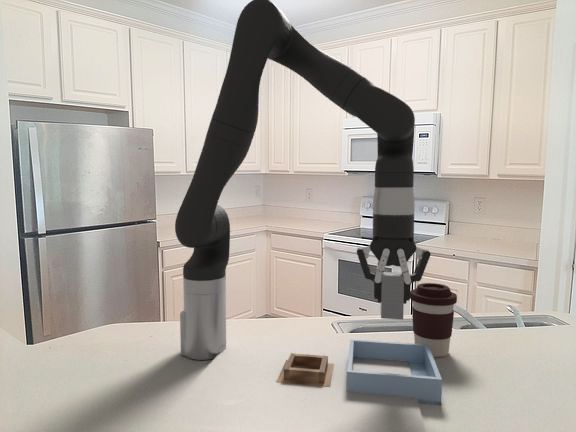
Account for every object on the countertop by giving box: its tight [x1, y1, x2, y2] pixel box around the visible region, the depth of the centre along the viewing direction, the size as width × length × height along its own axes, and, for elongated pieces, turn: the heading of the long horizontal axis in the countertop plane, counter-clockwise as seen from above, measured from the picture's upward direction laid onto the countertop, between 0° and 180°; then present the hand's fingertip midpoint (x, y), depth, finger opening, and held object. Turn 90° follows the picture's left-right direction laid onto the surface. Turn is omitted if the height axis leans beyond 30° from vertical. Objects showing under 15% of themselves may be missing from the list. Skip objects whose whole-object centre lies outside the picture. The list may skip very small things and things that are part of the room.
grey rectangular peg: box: [379, 271, 405, 321], centre depth 79 cm, size 4×4×8 cm
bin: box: [346, 338, 443, 406], centre depth 80 cm, size 16×16×4 cm
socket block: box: [275, 352, 335, 388], centre depth 81 cm, size 10×10×3 cm
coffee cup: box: [410, 282, 458, 358], centre depth 94 cm, size 10×10×15 cm
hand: (391, 301), depth 79 cm, fingers closed on grey rectangular peg, 4 cm apart
